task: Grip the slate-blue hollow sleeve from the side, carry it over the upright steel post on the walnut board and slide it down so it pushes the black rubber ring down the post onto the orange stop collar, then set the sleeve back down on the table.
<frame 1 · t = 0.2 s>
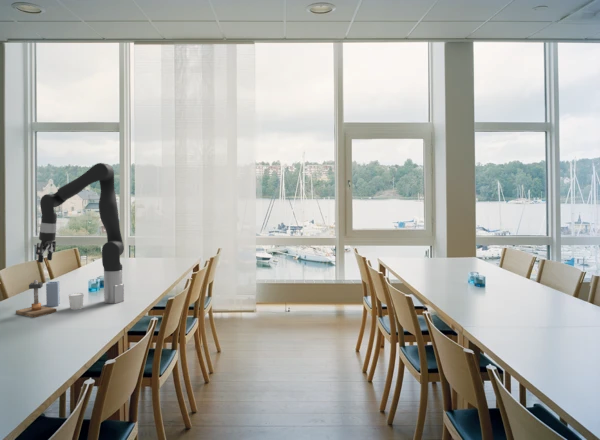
hand: (44, 261, 227), 22 cm above the table, tool pointing down, fingers open, 8 cm apart
sleeve: (53, 305, 222), on the table
ring: (35, 285, 207), point 14 cm above the table, slide at 8.0 cm
white cup: (76, 308, 218), on the table
post stand: (36, 312, 208), on the table
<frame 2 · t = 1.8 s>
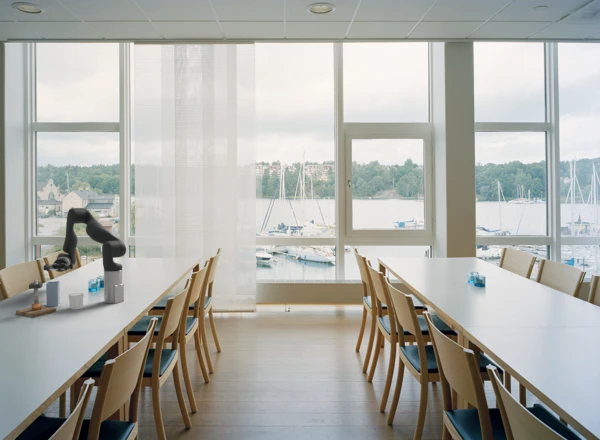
hand: (56, 269, 231), 17 cm above the table, tool horizontal, fingers open, 8 cm apart
nothing on the table moved.
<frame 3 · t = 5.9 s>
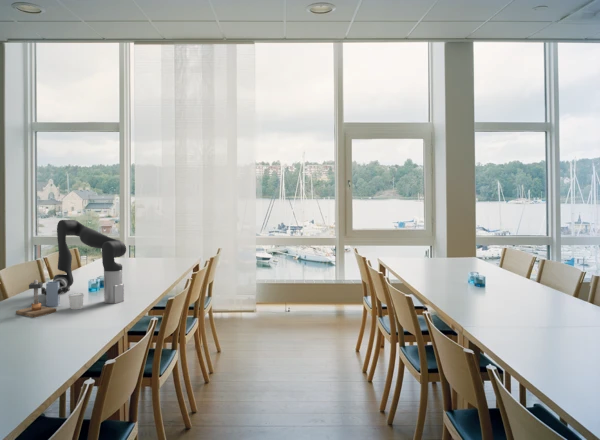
hand: (52, 293, 219), 7 cm above the table, tool horizontal, fingers closed on sleeve, 5 cm apart
sleeve: (53, 305, 222), on the table, touching gripper
everything else where it was.
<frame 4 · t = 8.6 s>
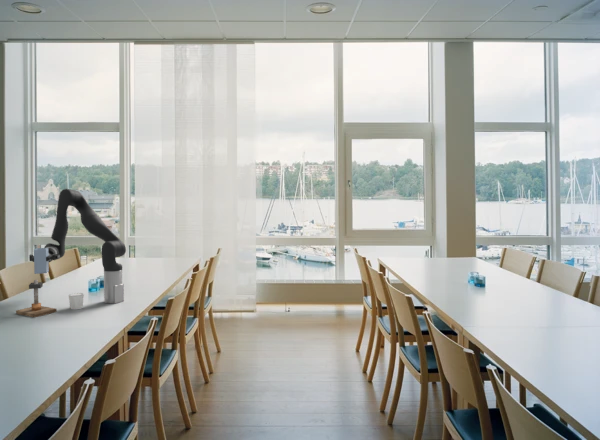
hand: (40, 259, 209), 26 cm above the table, tool horizontal, fingers closed on sleeve, 5 cm apart
sleeve: (41, 272, 212), point 19 cm above the table, touching gripper
everything else where it was.
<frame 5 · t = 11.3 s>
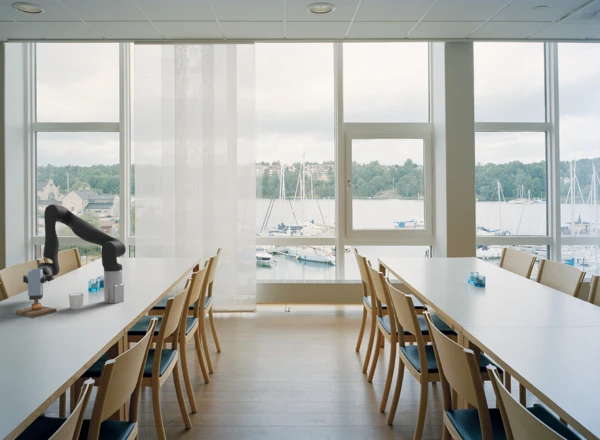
hand: (34, 281, 204), 16 cm above the table, tool horizontal, fingers closed on sleeve, 5 cm apart
sleeve: (35, 294, 207), point 9 cm above the table, touching gripper, ring
ring: (36, 296, 207), point 8 cm above the table, slide at 2.6 cm, touching sleeve
everything else where it was.
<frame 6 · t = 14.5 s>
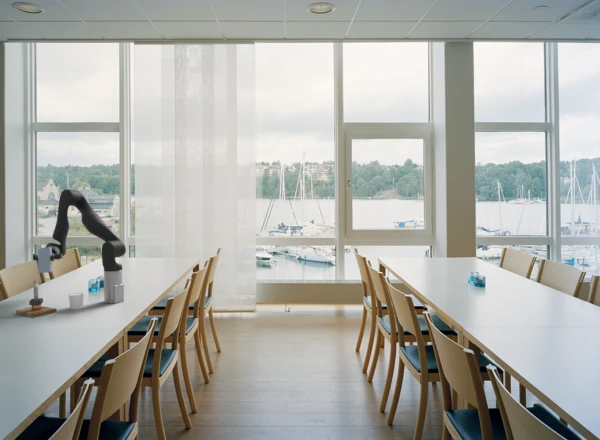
hand: (44, 258, 211), 26 cm above the table, tool horizontal, fingers closed on sleeve, 5 cm apart
sleeve: (45, 271, 214), point 19 cm above the table, touching gripper
ring: (36, 301, 207), point 5 cm above the table, slide at 0.0 cm, touching post stand
everything else where it was.
when the fingers open (8 cm above the table, at t = 17.5 s): sleeve stays where it is, on the table.
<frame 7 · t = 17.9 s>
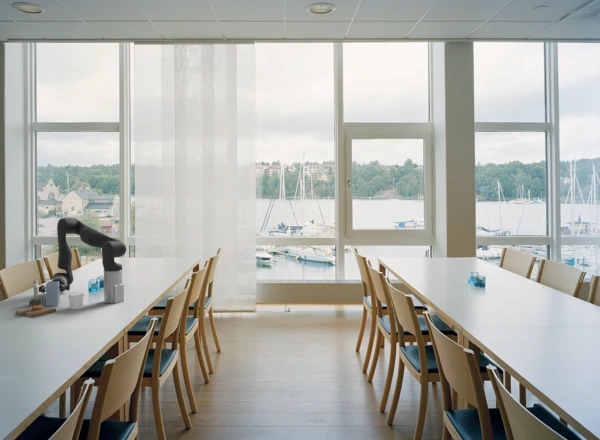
hand: (52, 290, 220), 8 cm above the table, tool horizontal, fingers open, 8 cm apart
sleeve: (53, 305, 222), on the table
everything else where it was.
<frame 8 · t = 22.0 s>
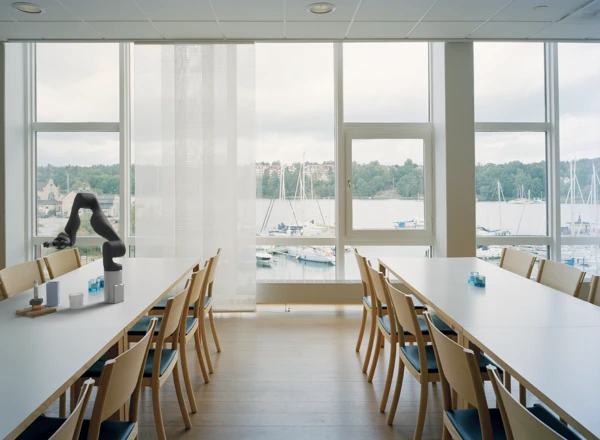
hand: (56, 245, 231), 30 cm above the table, tool horizontal, fingers open, 8 cm apart
nothing on the table moved.
at the end: ring slide at 0.0 cm; the gripper is holding nothing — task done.
